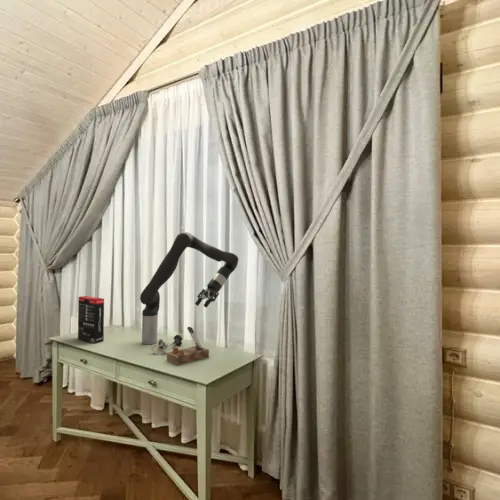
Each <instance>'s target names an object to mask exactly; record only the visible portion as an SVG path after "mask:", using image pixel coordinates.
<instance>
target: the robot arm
mask: <svg viewBox="0 0 500 500" xmlns="http://www.w3.org/2000/svg"><path fill="white" fill-rule="evenodd" d="M188 248H190V249H193V250H196V251H198V252H200V253H202V254H203V255H204V256H205V257H207V258H210V259H212V260H214V261H215V262H219V263H220V262H224V264H223V266H220V268H219V269H218V270H217V271H216V273H215V274H214V275H213V276H212V278H211V279H210V281H209V282H208V283H207V284H206V286H207V288H206V289H204V288H202V289H201V291H200V292H199V293H198V295H197V300H196V302H194V303H195V306H197V307H199V305H200V304H201V302H202V301H203V300H206V301H204V304H203V307H204V308H208V306H209V305H210V304H211V303H212V302H213V303H214V302H216V299H217V298H218V296H219V295H220V291H221V290H222V287H223V286H224V285H225V283H226V281H227V280H228V279H229V277H230V275H231V274H232V273H233V272H234V271H235V270H236V268H237V267H238V263H239V257H238V255H236V254H235V253H233V252H230V251H224V250H221V249H219V248H217V247H215V246H213V245H210V244H208V243H206V242H204V241H202V240H201V239H199V238H197V237H196V236H194V235H193V234H192V233H190V232H187V231H186V232H179V233H178V234H177V236H176V237H175V239H174V241H173V243H172V245H171V248H170V249H169V250H168V253H166V255H165V256H164V258H163V259H162V260H161V262H160V264H159V266H158V267H157V269H156V271H155V273H154V274H153V276H152V278H151V279H150V281H149V283H148V284H147V285H146V287H145V288H144V289H143V290H142V291H141V293H140V297H139V300H140V302H141V304H143V305H145V307H144V309H143V310H142V311H141V312H142V313H141V314H142V315H141V318H142V319H141V321H142V322H141V344H142V345H156V344H158V323H159V322H158V316H159V315H158V314H159V310H160V303H161V302H160V301H161V300H160V299H161V297H160V296H161V295H160V292H159V290H160V288H161V287H162V286H163V285H165V283H166V282H167V281H169V279H170V278H171V277H172V275H173V274H174V273H175V271H176V269H177V266H178V264H179V261H180V257H181V256H182V254H183V253H184V251H185V250H186V249H188Z"/></svg>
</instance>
